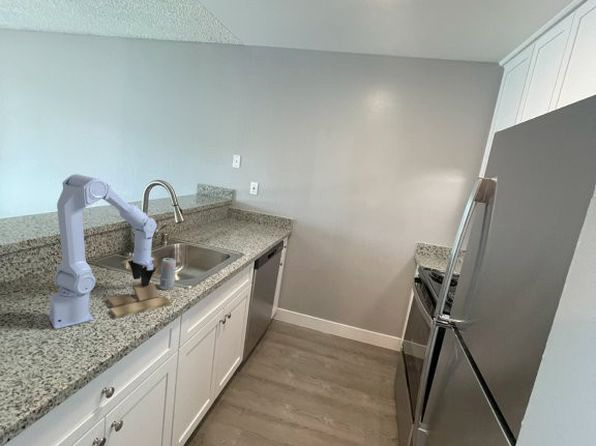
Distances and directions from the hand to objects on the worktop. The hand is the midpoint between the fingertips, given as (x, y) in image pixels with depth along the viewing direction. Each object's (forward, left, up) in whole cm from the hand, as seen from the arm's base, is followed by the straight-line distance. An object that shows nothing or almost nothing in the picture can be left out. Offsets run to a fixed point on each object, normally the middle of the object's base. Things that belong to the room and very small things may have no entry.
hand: (140, 282), depth 113 cm
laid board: (-4, -12, -4) cm, 13 cm away
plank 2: (0, -5, -3) cm, 5 cm away
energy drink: (+10, 0, -5) cm, 12 cm away
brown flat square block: (-8, -4, -4) cm, 10 cm away
